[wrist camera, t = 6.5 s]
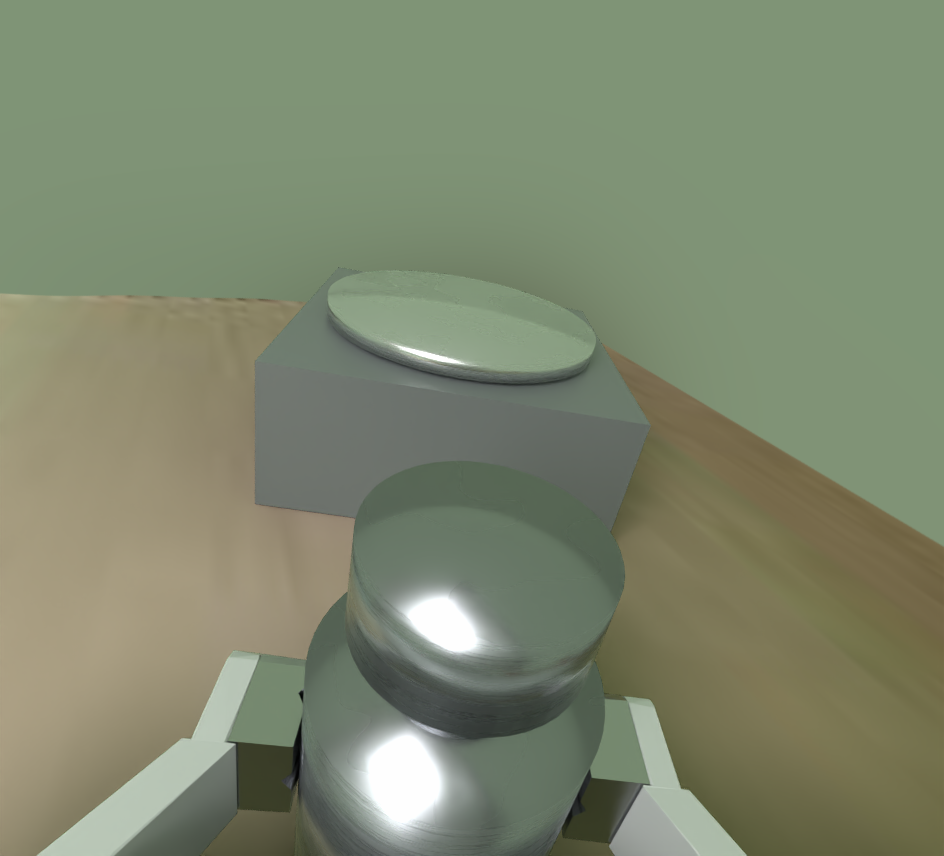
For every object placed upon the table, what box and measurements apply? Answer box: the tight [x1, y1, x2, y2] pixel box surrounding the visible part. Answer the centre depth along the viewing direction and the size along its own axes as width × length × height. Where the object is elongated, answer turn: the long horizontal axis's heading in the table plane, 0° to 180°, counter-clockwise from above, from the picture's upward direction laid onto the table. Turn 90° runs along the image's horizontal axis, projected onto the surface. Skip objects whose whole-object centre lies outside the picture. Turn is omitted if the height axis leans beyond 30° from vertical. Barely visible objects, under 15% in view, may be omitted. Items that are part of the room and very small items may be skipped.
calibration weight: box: [294, 461, 625, 856], centre depth 10 cm, size 5×5×10 cm
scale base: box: [255, 267, 651, 532], centre depth 28 cm, size 14×14×6 cm
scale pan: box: [327, 270, 596, 384], centre depth 26 cm, size 12×12×1 cm
